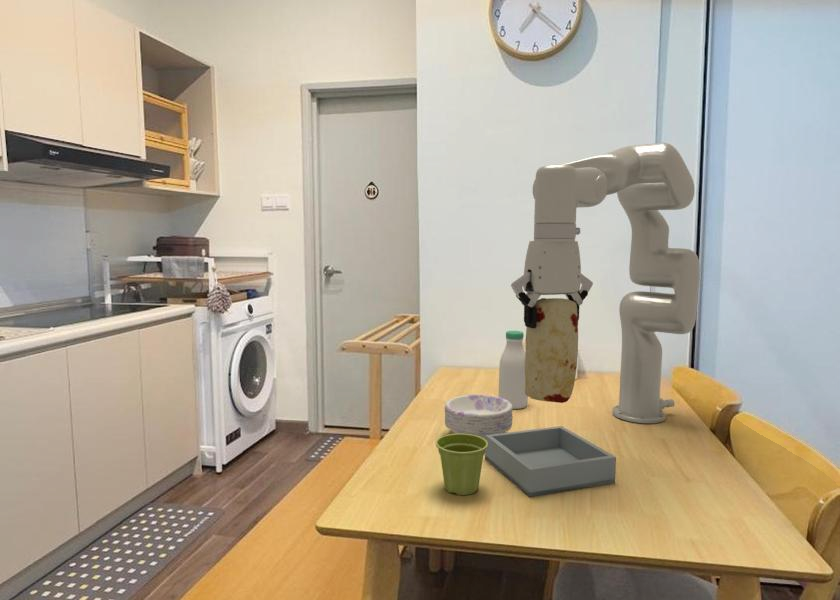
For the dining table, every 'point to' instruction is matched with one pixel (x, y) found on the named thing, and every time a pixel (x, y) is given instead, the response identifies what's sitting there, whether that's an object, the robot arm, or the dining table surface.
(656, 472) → the dining table surface
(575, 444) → the bin
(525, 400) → the milk bottle
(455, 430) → the paper bowls
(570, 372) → the food model
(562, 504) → the dining table surface
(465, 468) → the plant pot
